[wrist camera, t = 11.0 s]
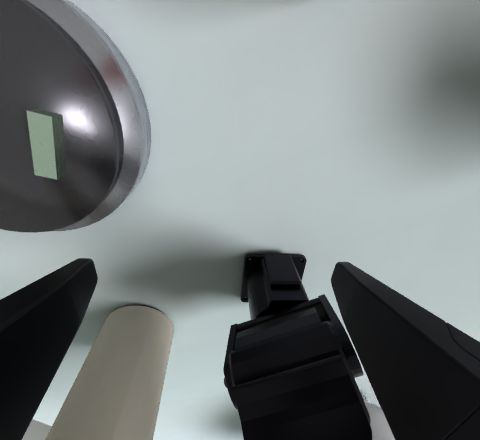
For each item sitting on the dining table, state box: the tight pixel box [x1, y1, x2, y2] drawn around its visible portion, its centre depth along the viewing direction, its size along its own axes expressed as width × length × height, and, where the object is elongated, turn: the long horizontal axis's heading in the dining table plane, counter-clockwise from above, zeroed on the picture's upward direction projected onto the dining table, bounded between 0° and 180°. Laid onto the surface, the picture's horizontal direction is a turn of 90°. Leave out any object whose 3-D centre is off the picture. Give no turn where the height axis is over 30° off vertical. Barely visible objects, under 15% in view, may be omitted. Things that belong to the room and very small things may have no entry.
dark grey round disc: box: [27, 0, 151, 231], centre depth 16 cm, size 16×16×3 cm
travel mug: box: [46, 306, 174, 440], centre depth 21 cm, size 8×8×18 cm
